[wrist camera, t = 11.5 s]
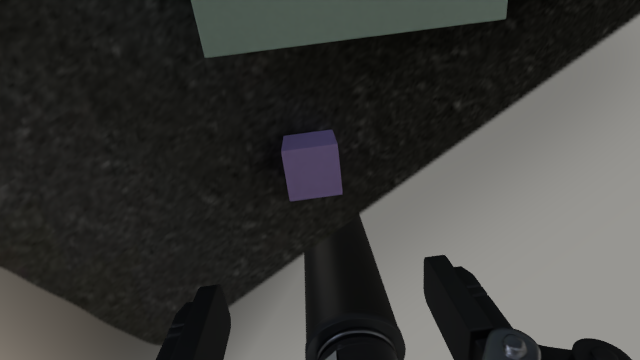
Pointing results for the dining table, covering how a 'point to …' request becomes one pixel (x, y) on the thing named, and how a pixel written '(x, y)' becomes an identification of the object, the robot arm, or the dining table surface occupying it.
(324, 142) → the cube
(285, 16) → the cabinet
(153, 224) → the dining table surface
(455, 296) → the robot arm
